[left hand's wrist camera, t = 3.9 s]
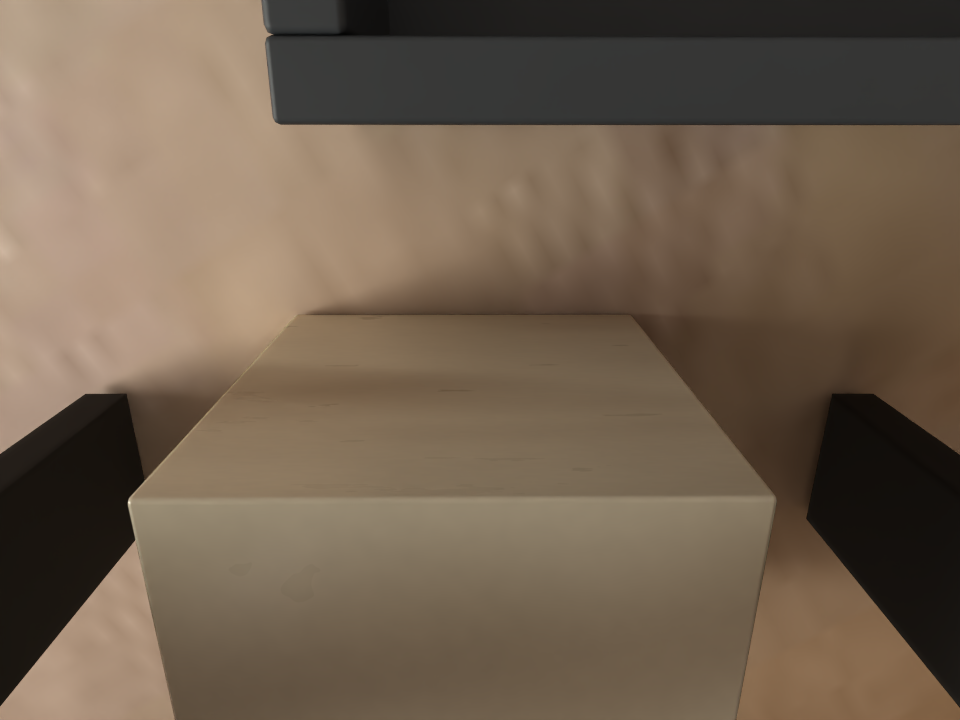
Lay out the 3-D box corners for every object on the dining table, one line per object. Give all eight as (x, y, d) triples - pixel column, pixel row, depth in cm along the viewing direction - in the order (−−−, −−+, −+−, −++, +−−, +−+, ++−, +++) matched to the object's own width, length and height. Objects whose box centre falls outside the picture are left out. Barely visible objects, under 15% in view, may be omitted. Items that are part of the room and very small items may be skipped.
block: (607, 587, 14) (702, 914, 8) (323, 588, 14) (216, 919, 8) (631, 313, 12) (780, 498, 6) (295, 313, 12) (124, 499, 6)
